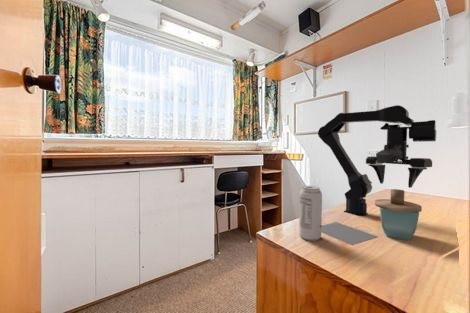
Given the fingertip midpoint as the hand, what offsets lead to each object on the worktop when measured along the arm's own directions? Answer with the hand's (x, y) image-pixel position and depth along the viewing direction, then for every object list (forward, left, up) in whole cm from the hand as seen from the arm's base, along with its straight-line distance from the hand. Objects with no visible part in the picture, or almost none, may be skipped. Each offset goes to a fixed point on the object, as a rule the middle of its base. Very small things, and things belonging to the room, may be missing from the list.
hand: (395, 185), depth 77 cm
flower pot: (+8, -15, -13) cm, 21 cm away
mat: (-1, -27, -13) cm, 30 cm away
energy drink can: (-3, -39, -13) cm, 41 cm away
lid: (+8, -15, -4) cm, 17 cm away
